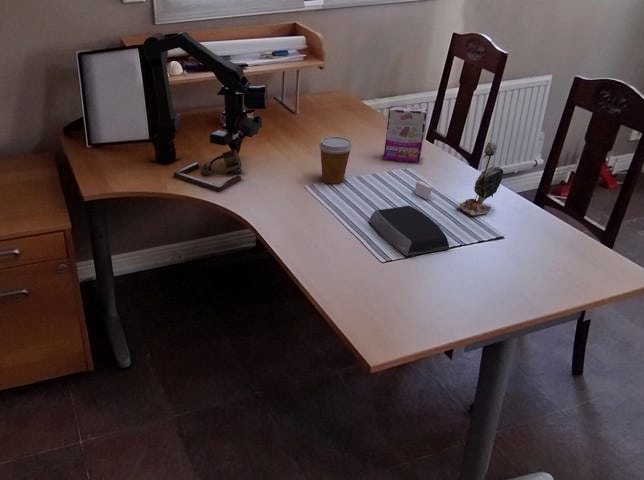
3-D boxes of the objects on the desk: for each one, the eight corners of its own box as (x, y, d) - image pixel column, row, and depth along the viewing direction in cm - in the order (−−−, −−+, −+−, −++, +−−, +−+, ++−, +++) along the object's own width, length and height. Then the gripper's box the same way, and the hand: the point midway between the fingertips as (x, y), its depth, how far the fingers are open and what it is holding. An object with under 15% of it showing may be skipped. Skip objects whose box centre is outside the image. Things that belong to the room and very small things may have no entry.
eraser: (417, 192, 180) (419, 180, 178) (430, 198, 177) (432, 186, 175) (414, 193, 180) (416, 181, 178) (426, 199, 176) (428, 187, 174)
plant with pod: (504, 212, 168) (523, 140, 158) (468, 218, 166) (484, 146, 155) (484, 199, 175) (501, 130, 164) (449, 206, 172) (463, 135, 162)
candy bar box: (420, 157, 202) (428, 107, 193) (419, 163, 198) (427, 112, 189) (384, 154, 206) (391, 104, 197) (382, 159, 202) (389, 109, 193)
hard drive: (402, 258, 150) (405, 243, 148) (366, 222, 166) (367, 208, 164) (452, 250, 153) (455, 235, 150) (411, 215, 169) (413, 201, 166)
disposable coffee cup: (354, 178, 190) (358, 140, 184) (337, 188, 185) (341, 150, 178) (327, 170, 196) (330, 133, 190) (310, 180, 190) (313, 142, 184)
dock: (173, 177, 197) (173, 172, 196) (196, 166, 203) (195, 162, 202) (219, 192, 186) (219, 187, 185) (241, 180, 192) (241, 175, 192)
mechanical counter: (240, 164, 189) (247, 145, 196) (199, 157, 192) (207, 139, 198) (239, 183, 195) (245, 164, 201) (199, 177, 197) (206, 158, 203)
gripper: (236, 122, 182) (238, 171, 191) (273, 103, 194) (273, 151, 202) (206, 116, 189) (210, 164, 197) (244, 98, 200) (245, 144, 209)
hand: (236, 156), depth 201 cm, fingers closed
